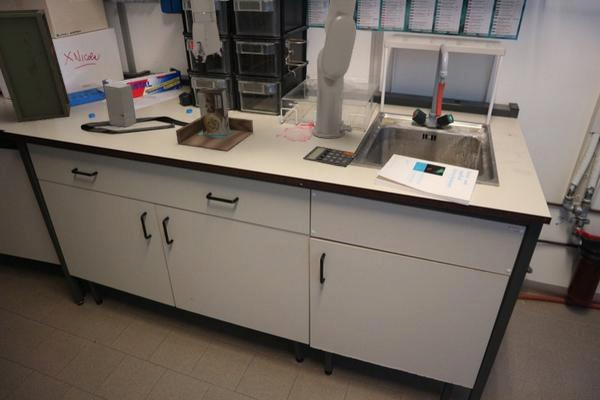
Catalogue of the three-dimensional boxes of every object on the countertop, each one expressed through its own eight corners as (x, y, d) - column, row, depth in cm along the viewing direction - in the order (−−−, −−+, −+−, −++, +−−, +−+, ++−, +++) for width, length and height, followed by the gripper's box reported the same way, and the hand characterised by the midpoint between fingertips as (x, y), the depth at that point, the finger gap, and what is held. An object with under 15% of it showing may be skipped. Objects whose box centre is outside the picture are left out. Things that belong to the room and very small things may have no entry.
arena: (253, 132, 157) (252, 120, 154) (227, 151, 140) (226, 137, 138) (207, 126, 163) (206, 114, 160) (177, 143, 146) (175, 130, 144)
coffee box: (230, 130, 157) (226, 87, 149) (226, 136, 151) (222, 92, 143) (206, 129, 157) (201, 87, 149) (202, 135, 152) (197, 91, 144)
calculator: (345, 165, 129) (302, 157, 135) (345, 168, 130) (302, 160, 135) (357, 152, 138) (316, 145, 144) (357, 155, 139) (316, 148, 145)
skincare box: (109, 125, 164) (100, 85, 156) (122, 119, 170) (114, 81, 162) (126, 127, 161) (117, 87, 153) (139, 122, 167) (131, 83, 159)
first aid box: (23, 110, 181) (-10, 10, 161) (70, 105, 188) (43, 9, 168) (18, 122, 166) (-19, 14, 147) (69, 116, 173) (40, 13, 154)
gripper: (208, 15, 143) (214, 65, 151) (179, 20, 129) (187, 76, 137) (227, 15, 141) (232, 67, 149) (199, 21, 127) (207, 77, 135)
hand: (211, 71), depth 143 cm, fingers open, 9 cm apart
